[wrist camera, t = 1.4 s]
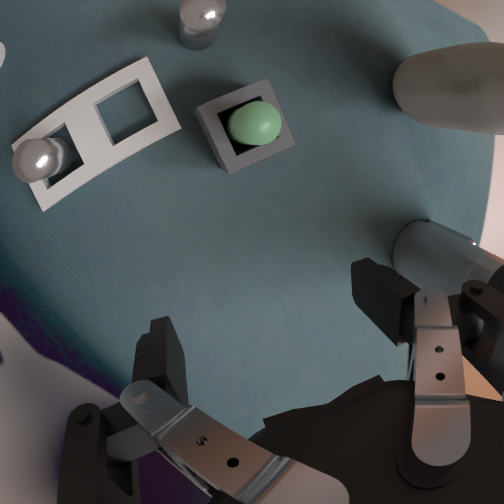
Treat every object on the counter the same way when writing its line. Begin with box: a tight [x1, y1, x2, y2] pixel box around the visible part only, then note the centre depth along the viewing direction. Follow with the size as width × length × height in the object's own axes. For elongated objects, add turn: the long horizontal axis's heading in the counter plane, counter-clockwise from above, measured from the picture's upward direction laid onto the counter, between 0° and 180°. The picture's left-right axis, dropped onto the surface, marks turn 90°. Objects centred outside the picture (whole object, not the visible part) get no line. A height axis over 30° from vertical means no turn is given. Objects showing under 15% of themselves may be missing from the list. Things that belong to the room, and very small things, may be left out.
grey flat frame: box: [11, 57, 181, 212], centre depth 28 cm, size 18×9×2 cm, turn 113°
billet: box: [179, 0, 226, 50], centre depth 23 cm, size 4×4×8 cm
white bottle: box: [393, 42, 504, 135], centre depth 21 cm, size 10×10×28 cm
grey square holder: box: [195, 78, 296, 175], centre depth 29 cm, size 7×7×6 cm
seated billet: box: [12, 138, 75, 183], centre depth 24 cm, size 4×4×8 cm
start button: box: [226, 101, 281, 145], centre depth 25 cm, size 4×4×6 cm
